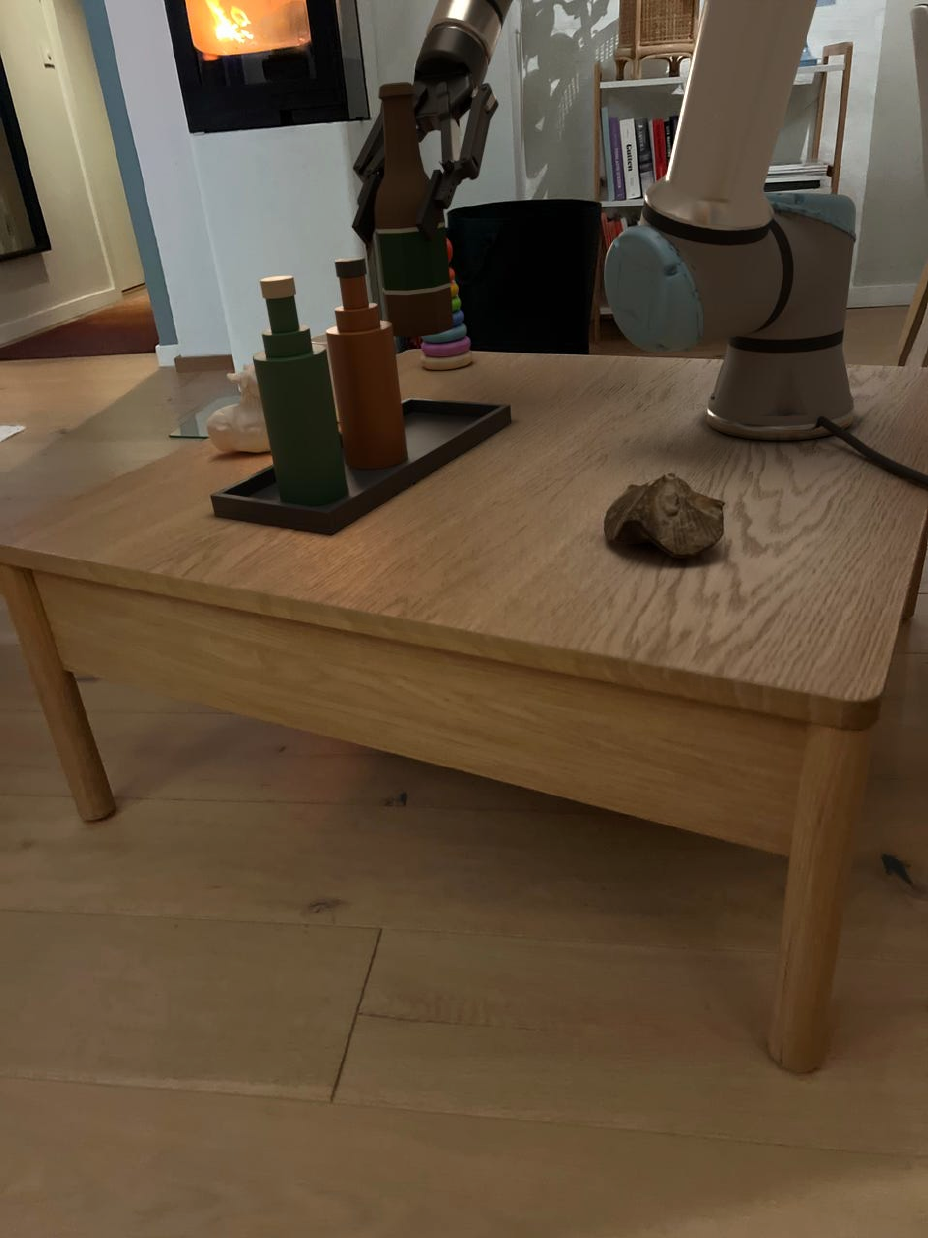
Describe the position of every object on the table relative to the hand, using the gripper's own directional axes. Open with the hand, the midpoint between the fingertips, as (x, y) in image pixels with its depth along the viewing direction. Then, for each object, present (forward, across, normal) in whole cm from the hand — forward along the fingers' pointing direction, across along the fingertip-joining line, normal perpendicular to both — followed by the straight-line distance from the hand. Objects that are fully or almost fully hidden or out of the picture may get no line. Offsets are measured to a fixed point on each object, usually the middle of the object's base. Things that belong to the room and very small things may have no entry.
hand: (391, 233), depth 94 cm
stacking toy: (-8, +17, -40) cm, 45 cm away
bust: (+21, +17, -11) cm, 29 cm away
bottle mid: (+21, 0, -10) cm, 23 cm away
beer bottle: (+5, 0, -10) cm, 11 cm away
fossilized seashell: (+29, -36, -3) cm, 46 cm away
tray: (+21, 0, -10) cm, 24 cm away
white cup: (+11, +15, -22) cm, 28 cm away
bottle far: (+29, 0, -2) cm, 29 cm away
